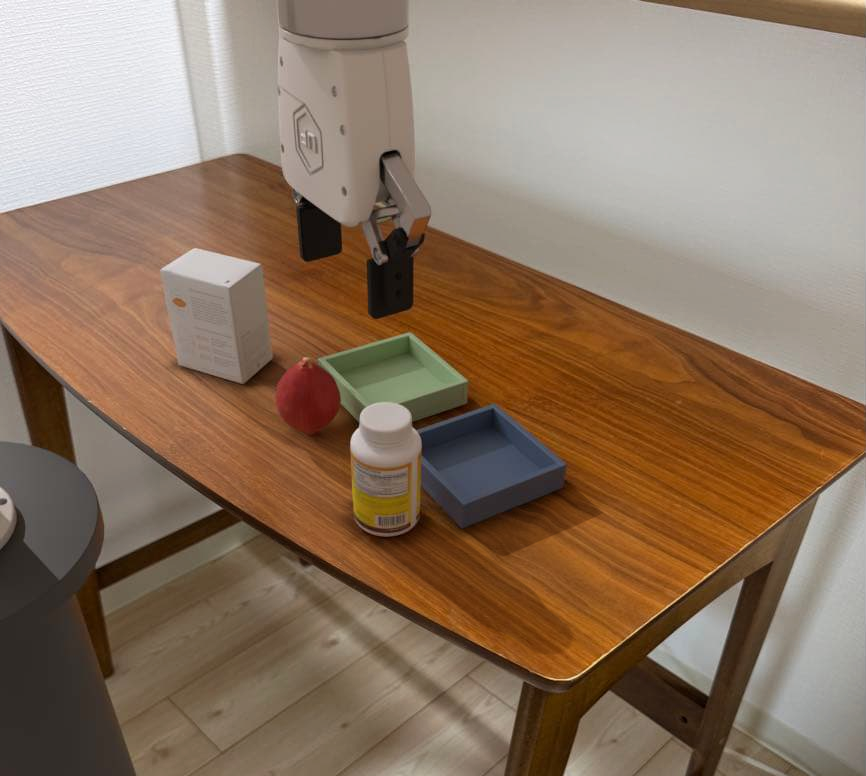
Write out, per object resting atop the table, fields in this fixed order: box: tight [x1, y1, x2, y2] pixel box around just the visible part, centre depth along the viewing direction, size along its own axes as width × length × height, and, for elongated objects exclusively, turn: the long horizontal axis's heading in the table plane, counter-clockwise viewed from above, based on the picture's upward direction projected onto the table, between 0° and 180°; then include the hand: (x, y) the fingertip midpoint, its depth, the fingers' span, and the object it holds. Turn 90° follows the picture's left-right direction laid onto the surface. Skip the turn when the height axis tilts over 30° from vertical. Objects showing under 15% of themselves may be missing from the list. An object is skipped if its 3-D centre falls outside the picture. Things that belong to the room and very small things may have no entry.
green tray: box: [317, 331, 470, 424], centre depth 88 cm, size 11×11×3 cm
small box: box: [159, 247, 274, 385], centre depth 88 cm, size 8×6×10 cm
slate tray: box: [415, 403, 568, 529], centre depth 79 cm, size 11×11×3 cm
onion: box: [274, 356, 341, 435], centre depth 81 cm, size 6×6×8 cm
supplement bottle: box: [349, 402, 422, 538], centre depth 72 cm, size 6×6×10 cm
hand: (354, 283), depth 63 cm, fingers open, 9 cm apart
